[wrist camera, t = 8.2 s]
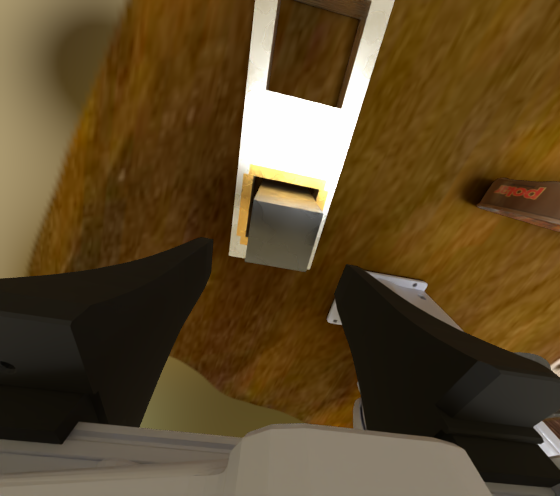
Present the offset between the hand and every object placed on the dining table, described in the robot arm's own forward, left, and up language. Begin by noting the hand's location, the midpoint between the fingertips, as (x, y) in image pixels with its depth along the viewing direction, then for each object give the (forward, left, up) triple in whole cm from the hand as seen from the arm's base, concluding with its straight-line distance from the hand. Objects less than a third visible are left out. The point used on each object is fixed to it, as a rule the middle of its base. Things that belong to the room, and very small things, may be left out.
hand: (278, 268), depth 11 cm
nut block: (0, -1, -10) cm, 10 cm away
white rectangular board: (0, -7, -10) cm, 12 cm away
